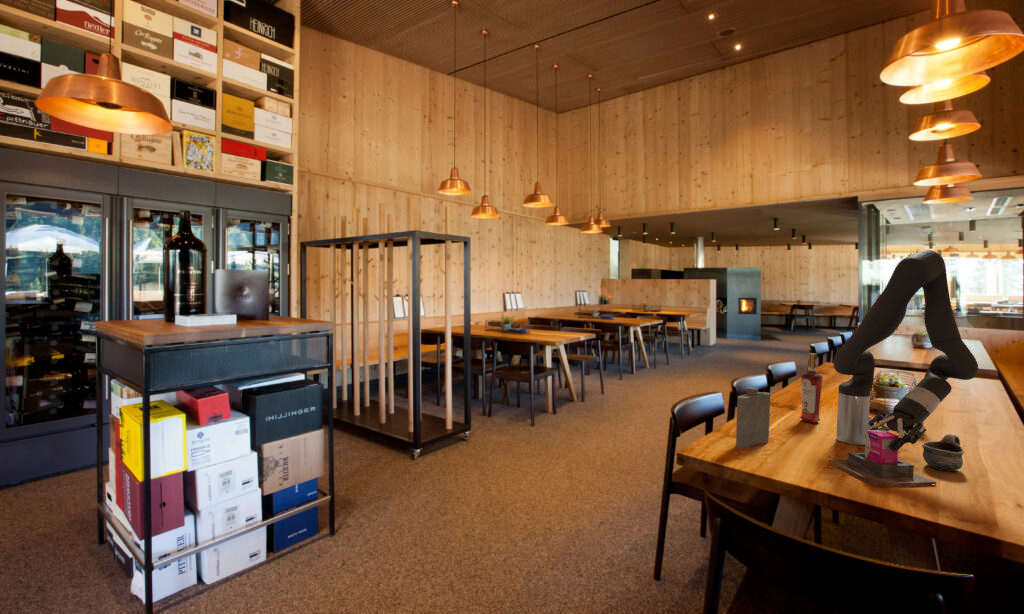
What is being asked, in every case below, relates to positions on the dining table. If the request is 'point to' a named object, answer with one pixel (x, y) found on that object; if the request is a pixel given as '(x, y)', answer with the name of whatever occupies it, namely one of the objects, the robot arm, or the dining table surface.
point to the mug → (944, 453)
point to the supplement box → (880, 447)
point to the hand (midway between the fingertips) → (879, 444)
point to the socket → (881, 471)
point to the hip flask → (752, 418)
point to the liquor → (811, 392)
